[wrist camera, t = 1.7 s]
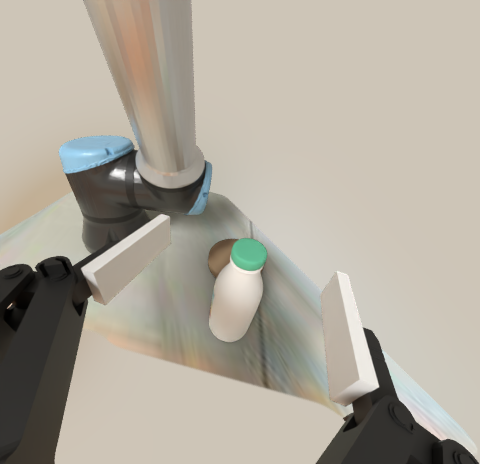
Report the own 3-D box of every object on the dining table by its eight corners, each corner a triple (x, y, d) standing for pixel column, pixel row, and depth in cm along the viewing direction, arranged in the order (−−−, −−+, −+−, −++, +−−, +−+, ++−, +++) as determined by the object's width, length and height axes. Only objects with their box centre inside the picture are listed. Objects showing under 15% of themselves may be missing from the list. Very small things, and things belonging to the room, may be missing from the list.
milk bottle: (256, 328, 36) (292, 259, 24) (222, 353, 32) (244, 284, 19) (233, 296, 40) (254, 224, 28) (201, 315, 36) (208, 238, 24)
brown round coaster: (196, 267, 45) (196, 261, 43) (226, 237, 55) (227, 232, 54) (248, 297, 41) (250, 291, 40) (269, 258, 51) (271, 253, 50)
